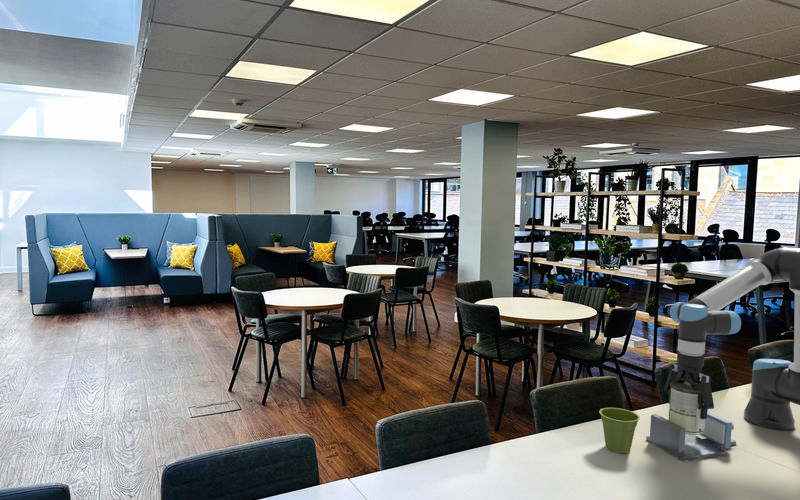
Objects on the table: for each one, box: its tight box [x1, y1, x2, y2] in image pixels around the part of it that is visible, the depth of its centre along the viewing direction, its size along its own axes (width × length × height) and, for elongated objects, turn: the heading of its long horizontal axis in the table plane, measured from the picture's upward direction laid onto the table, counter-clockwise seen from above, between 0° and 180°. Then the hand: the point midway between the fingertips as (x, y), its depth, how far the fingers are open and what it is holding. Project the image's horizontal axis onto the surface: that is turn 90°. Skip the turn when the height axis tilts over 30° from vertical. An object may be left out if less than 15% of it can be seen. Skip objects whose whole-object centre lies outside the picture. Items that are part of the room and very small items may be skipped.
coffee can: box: [668, 381, 704, 436], centre depth 162 cm, size 10×10×14 cm
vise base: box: [645, 413, 737, 462], centre depth 164 cm, size 27×15×9 cm, turn 105°
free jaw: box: [700, 411, 735, 448], centre depth 167 cm, size 9×11×8 cm
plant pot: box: [598, 407, 641, 454], centre depth 161 cm, size 12×12×11 cm
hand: (686, 421), depth 163 cm, fingers closed on coffee can, 10 cm apart
